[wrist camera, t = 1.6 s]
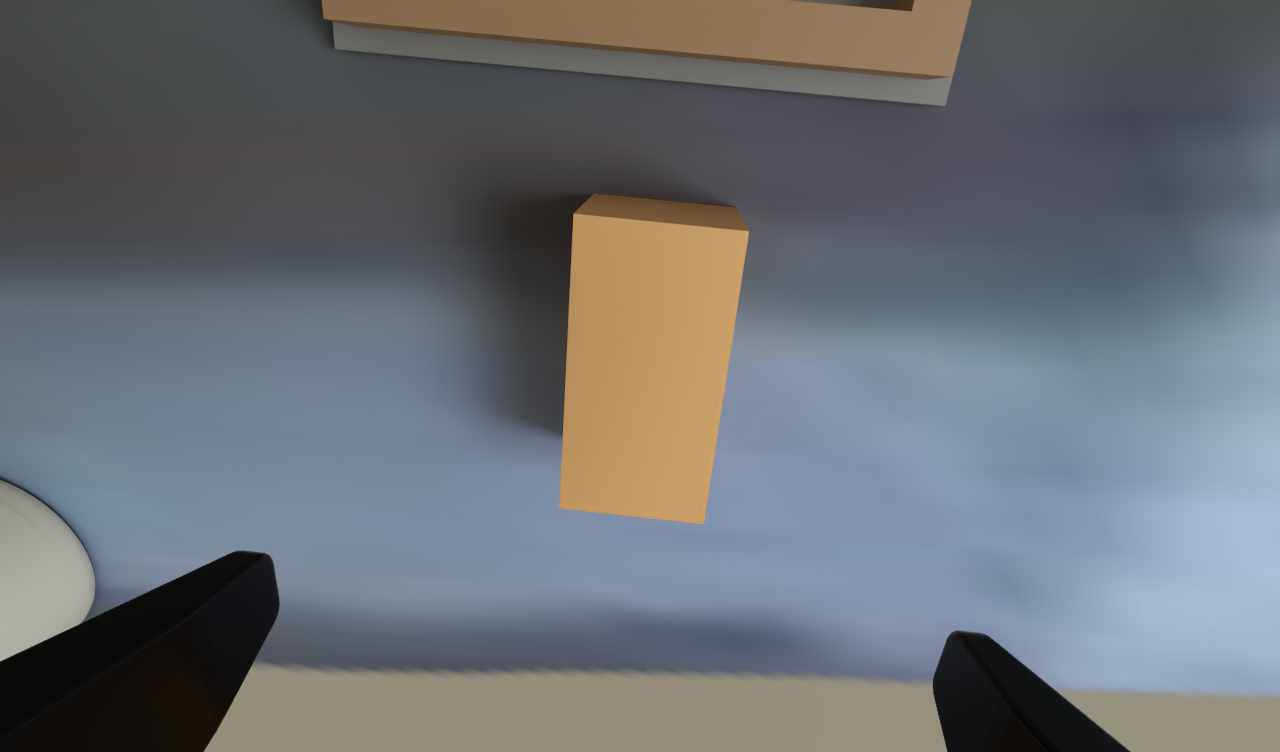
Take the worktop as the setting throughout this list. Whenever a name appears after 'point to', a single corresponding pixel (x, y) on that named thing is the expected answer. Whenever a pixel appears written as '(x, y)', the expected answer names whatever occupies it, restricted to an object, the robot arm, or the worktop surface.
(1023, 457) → the worktop surface
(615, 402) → the ochre bar
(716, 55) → the board
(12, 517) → the pill bottle
